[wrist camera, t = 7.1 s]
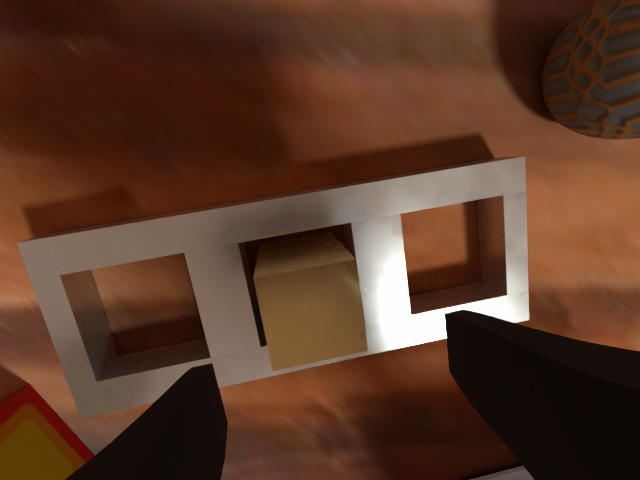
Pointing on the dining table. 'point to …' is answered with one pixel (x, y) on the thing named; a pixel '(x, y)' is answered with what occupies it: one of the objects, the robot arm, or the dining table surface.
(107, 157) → the dining table surface
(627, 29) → the vase
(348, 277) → the block
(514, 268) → the white slotted frame
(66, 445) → the baking soda box
